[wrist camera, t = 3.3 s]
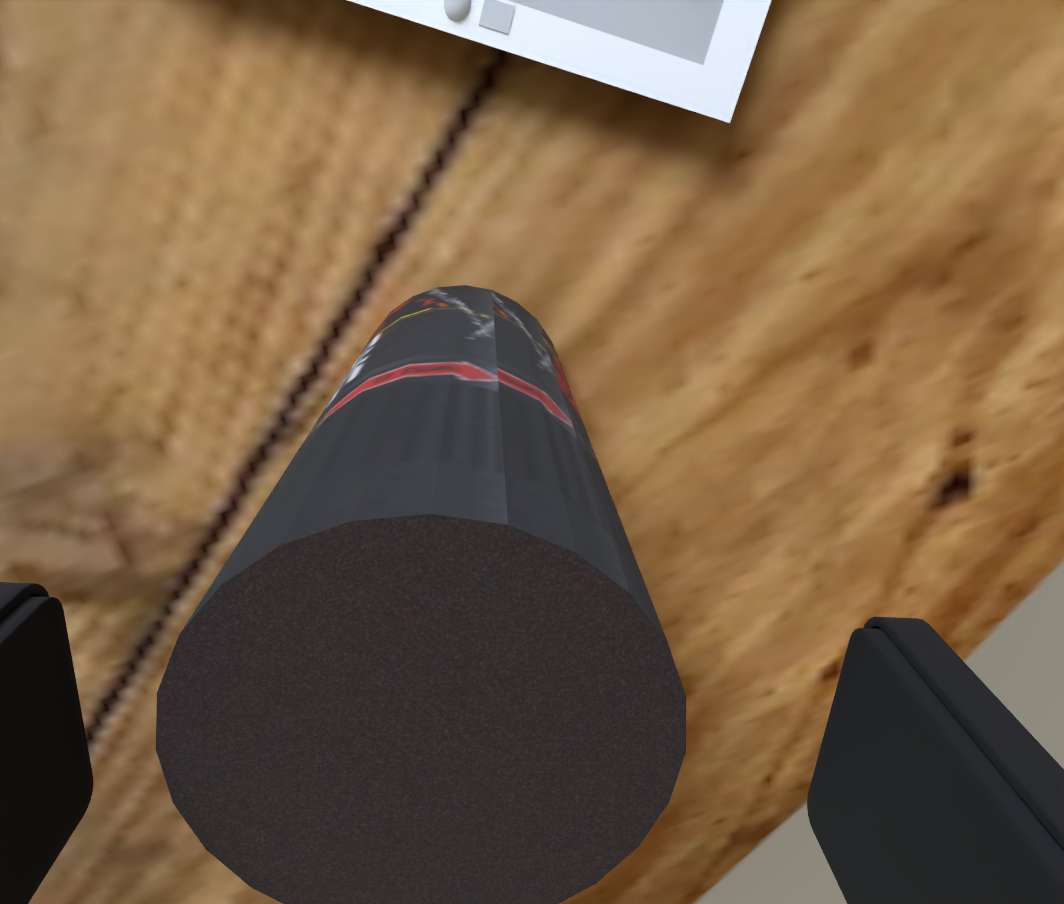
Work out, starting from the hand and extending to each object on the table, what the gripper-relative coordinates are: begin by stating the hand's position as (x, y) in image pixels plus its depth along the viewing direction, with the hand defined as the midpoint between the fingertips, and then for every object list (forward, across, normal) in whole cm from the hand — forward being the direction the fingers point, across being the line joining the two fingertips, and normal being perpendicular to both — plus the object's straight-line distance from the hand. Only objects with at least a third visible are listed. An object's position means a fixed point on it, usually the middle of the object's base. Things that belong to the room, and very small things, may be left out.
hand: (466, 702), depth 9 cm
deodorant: (+15, +1, 0) cm, 15 cm away
